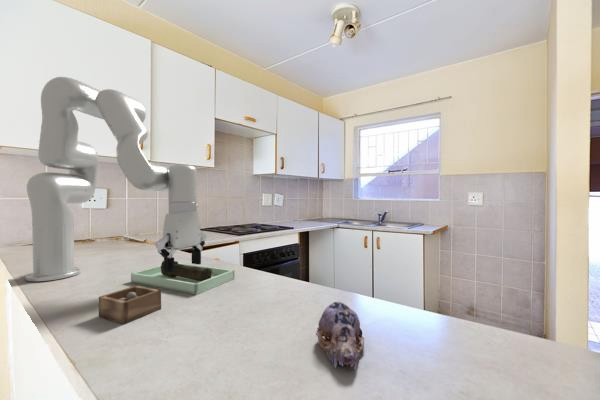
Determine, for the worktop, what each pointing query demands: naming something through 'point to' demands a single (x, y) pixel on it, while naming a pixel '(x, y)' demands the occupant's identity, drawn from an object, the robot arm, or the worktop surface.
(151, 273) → the tray
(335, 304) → the skull
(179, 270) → the dark brown tapered bar
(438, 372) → the worktop surface
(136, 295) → the gravel box
